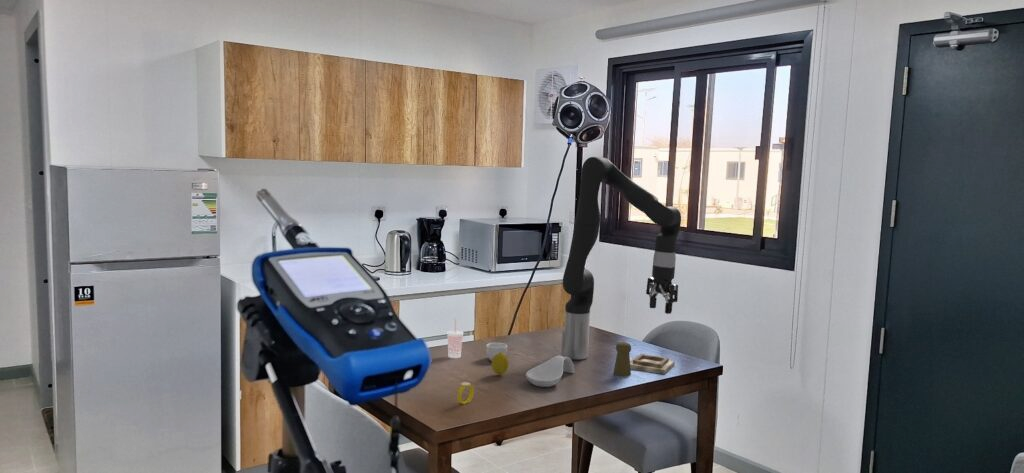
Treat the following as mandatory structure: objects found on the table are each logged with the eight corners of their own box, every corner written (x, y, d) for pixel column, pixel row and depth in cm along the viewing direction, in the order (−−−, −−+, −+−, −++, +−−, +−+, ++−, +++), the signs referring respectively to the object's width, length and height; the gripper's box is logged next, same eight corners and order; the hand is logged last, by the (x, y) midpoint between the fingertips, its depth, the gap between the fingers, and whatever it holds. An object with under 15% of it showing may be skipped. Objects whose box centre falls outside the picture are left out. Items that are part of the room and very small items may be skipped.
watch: (462, 407, 204) (462, 387, 203) (455, 405, 206) (455, 385, 205) (475, 400, 209) (475, 381, 208) (468, 398, 211) (468, 379, 210)
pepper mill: (630, 377, 239) (632, 345, 238) (612, 375, 241) (614, 344, 240) (631, 372, 245) (632, 341, 244) (613, 370, 246) (615, 340, 245)
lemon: (496, 378, 232) (496, 355, 231) (488, 374, 237) (489, 351, 236) (510, 376, 235) (511, 353, 234) (503, 372, 240) (504, 349, 239)
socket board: (626, 367, 250) (626, 360, 250) (637, 359, 263) (637, 352, 263) (664, 374, 244) (665, 366, 244) (674, 364, 257) (674, 357, 257)
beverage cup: (464, 358, 256) (466, 320, 255) (448, 359, 254) (449, 321, 252) (459, 353, 262) (461, 317, 260) (444, 354, 259) (445, 317, 258)
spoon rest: (550, 393, 220) (551, 371, 219) (518, 386, 226) (519, 364, 225) (583, 375, 240) (584, 355, 240) (553, 369, 246) (553, 349, 246)
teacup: (498, 363, 250) (498, 349, 250) (481, 359, 255) (481, 345, 254) (514, 358, 258) (515, 344, 258) (497, 354, 263) (498, 340, 262)
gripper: (642, 261, 245) (639, 306, 247) (668, 268, 232) (664, 315, 234) (659, 261, 248) (656, 305, 250) (686, 267, 236) (682, 314, 237)
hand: (660, 310), depth 242 cm, fingers open, 8 cm apart
